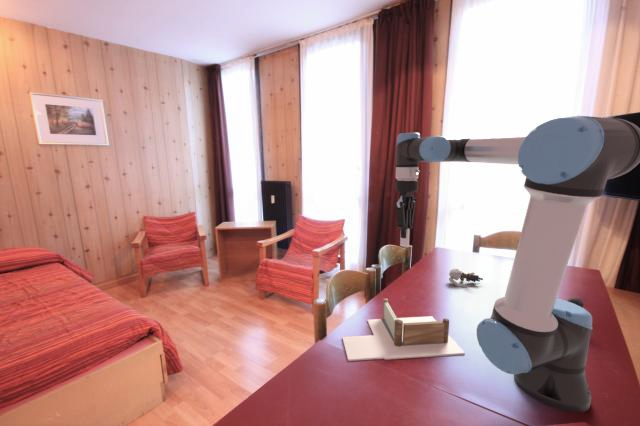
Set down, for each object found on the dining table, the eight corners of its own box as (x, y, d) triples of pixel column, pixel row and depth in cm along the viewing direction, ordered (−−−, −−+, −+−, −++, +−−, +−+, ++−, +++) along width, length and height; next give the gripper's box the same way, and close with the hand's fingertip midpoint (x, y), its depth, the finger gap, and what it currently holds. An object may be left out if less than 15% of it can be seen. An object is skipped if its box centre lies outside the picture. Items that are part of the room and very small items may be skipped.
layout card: (464, 354, 86) (464, 352, 86) (348, 362, 84) (348, 360, 84) (432, 317, 107) (432, 315, 107) (338, 322, 104) (338, 321, 104)
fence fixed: (449, 343, 91) (451, 320, 89) (395, 346, 89) (396, 323, 88) (445, 338, 93) (447, 316, 92) (392, 342, 92) (393, 319, 90)
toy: (487, 270, 131) (453, 263, 131) (488, 288, 127) (454, 281, 127) (474, 277, 140) (443, 271, 141) (475, 294, 136) (443, 287, 137)
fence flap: (398, 338, 93) (399, 318, 92) (393, 338, 93) (393, 319, 92) (386, 315, 107) (387, 298, 106) (382, 315, 107) (382, 298, 105)
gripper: (409, 181, 93) (406, 252, 97) (424, 179, 103) (421, 244, 107) (387, 180, 98) (386, 248, 102) (404, 178, 108) (402, 240, 112)
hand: (404, 246), depth 104 cm, fingers closed
